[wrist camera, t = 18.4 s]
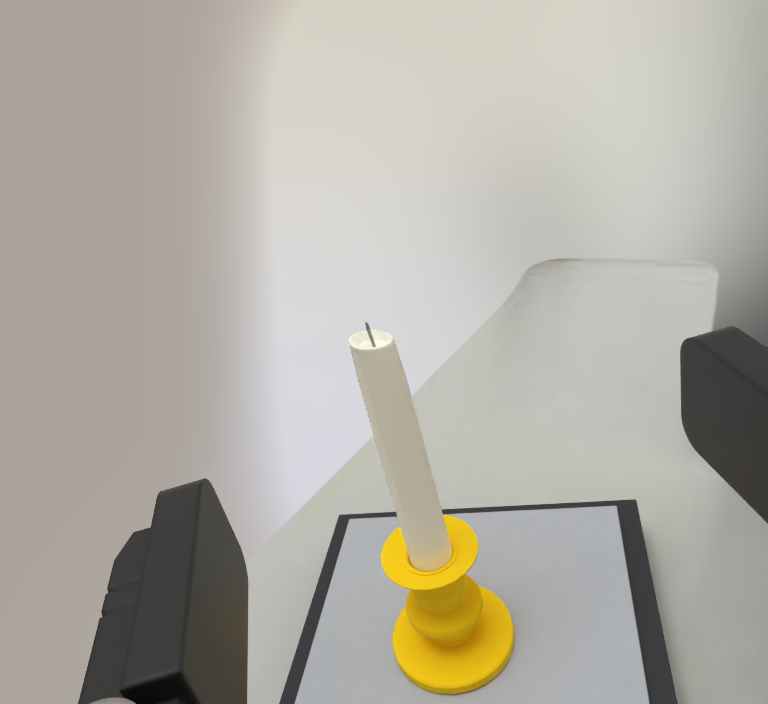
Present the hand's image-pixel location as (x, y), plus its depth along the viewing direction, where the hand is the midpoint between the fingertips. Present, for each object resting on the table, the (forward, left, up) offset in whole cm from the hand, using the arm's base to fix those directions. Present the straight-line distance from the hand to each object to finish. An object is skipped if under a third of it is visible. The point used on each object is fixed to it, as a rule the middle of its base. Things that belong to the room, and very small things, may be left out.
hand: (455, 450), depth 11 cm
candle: (-4, +10, -18) cm, 21 cm away
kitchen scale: (-4, +10, -21) cm, 24 cm away
